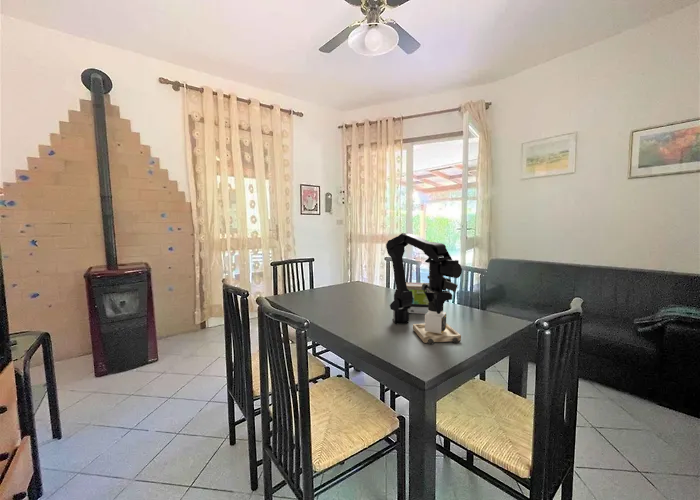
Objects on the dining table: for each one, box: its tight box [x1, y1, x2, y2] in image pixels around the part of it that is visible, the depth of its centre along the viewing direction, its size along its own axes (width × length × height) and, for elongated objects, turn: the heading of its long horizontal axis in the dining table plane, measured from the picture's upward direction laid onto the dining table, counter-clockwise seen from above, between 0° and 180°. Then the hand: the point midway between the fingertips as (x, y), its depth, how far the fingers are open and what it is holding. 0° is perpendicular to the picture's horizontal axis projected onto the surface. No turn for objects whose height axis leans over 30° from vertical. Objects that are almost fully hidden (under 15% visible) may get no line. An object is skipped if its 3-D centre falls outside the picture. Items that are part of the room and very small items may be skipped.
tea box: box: [406, 281, 429, 315], centre depth 160 cm, size 15×10×15 cm, turn 82°
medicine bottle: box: [424, 301, 447, 334], centre depth 126 cm, size 7×7×12 cm
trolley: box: [412, 322, 462, 345], centre depth 126 cm, size 15×17×3 cm
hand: (435, 311), depth 126 cm, fingers closed on medicine bottle, 6 cm apart
